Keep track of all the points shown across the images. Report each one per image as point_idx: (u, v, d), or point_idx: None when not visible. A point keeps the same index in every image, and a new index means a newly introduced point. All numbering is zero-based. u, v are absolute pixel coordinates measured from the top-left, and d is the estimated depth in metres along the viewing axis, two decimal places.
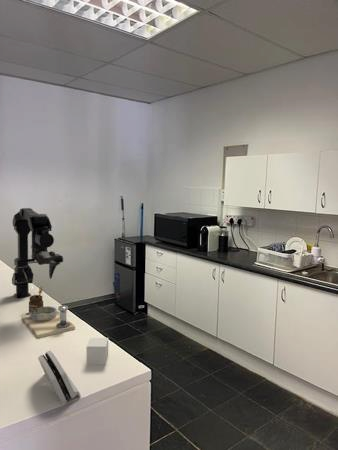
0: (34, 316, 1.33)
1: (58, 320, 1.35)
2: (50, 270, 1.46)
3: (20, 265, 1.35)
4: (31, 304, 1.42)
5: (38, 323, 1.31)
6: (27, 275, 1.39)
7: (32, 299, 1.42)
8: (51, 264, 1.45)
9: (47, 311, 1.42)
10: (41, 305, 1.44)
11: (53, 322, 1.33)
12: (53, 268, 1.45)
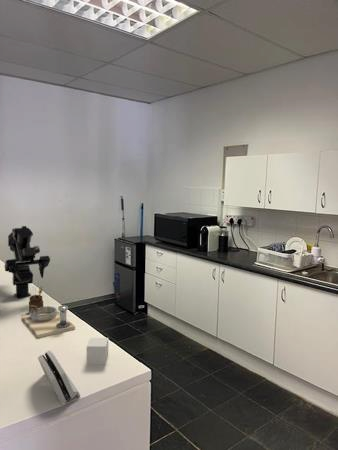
0: (34, 316, 1.33)
1: (58, 320, 1.35)
2: (40, 271, 1.53)
3: (9, 262, 1.46)
4: (31, 304, 1.42)
5: (38, 323, 1.31)
6: (18, 273, 1.46)
7: (32, 299, 1.42)
8: (40, 265, 1.55)
9: (47, 311, 1.42)
10: (41, 305, 1.44)
11: (53, 322, 1.33)
12: (42, 267, 1.53)
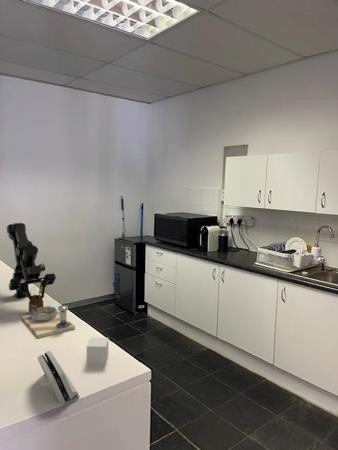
0: (34, 316, 1.33)
1: (58, 320, 1.35)
2: None
3: (13, 281, 1.41)
4: (31, 304, 1.42)
5: (38, 323, 1.31)
6: (28, 292, 1.43)
7: (32, 299, 1.42)
8: (41, 284, 1.48)
9: (47, 311, 1.42)
10: (41, 305, 1.44)
11: (53, 322, 1.33)
12: (43, 286, 1.47)
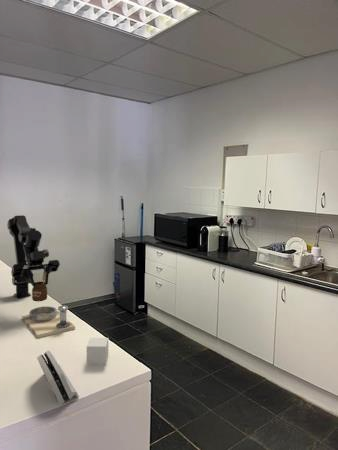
0: (34, 316, 1.33)
1: (58, 320, 1.35)
2: None
3: (16, 267, 1.36)
4: (34, 290, 1.38)
5: (38, 323, 1.31)
6: (31, 278, 1.38)
7: (36, 286, 1.38)
8: (44, 271, 1.44)
9: (47, 311, 1.42)
10: (45, 292, 1.39)
11: (53, 322, 1.33)
12: (47, 272, 1.42)
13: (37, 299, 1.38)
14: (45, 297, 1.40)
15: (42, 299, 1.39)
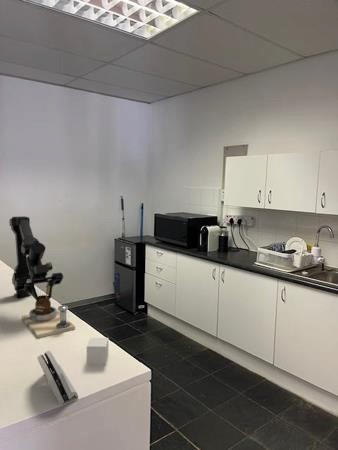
0: (34, 316, 1.33)
1: (58, 320, 1.35)
2: None
3: (19, 281, 1.33)
4: (38, 305, 1.35)
5: (38, 323, 1.31)
6: (35, 292, 1.35)
7: (39, 300, 1.35)
8: (48, 284, 1.41)
9: None
10: (48, 306, 1.37)
11: (53, 322, 1.33)
12: (50, 286, 1.40)
13: (40, 314, 1.35)
14: (48, 311, 1.37)
15: None
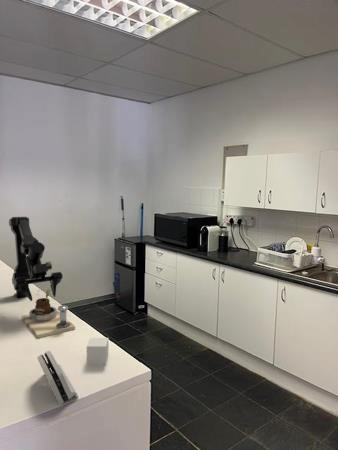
0: (34, 316, 1.33)
1: (58, 320, 1.35)
2: (52, 289, 1.41)
3: (19, 280, 1.34)
4: (38, 308, 1.35)
5: (38, 323, 1.31)
6: (29, 292, 1.34)
7: (39, 303, 1.35)
8: (52, 283, 1.43)
9: None
10: (48, 309, 1.37)
11: (53, 322, 1.33)
12: (54, 284, 1.41)
13: None
14: None
15: None
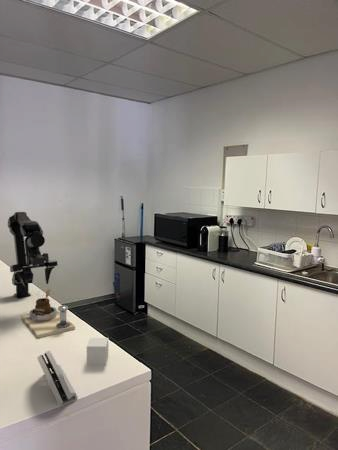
0: (34, 316, 1.33)
1: (58, 320, 1.35)
2: (46, 275, 1.49)
3: (15, 269, 1.39)
4: (38, 308, 1.35)
5: (38, 323, 1.31)
6: (23, 280, 1.42)
7: (39, 303, 1.35)
8: (46, 269, 1.50)
9: None
10: (48, 309, 1.37)
11: (53, 322, 1.33)
12: (49, 273, 1.49)
13: None
14: None
15: None
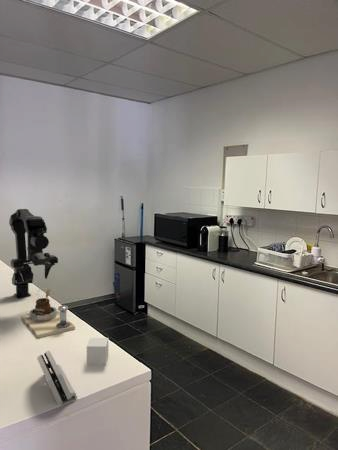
0: (34, 316, 1.33)
1: (58, 320, 1.35)
2: (45, 271, 1.51)
3: (16, 266, 1.40)
4: (38, 308, 1.35)
5: (38, 323, 1.31)
6: (23, 276, 1.44)
7: (39, 303, 1.35)
8: (46, 265, 1.51)
9: None
10: (48, 309, 1.37)
11: (53, 322, 1.33)
12: (48, 269, 1.50)
13: None
14: None
15: None
